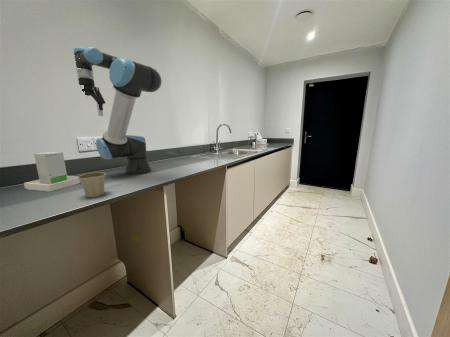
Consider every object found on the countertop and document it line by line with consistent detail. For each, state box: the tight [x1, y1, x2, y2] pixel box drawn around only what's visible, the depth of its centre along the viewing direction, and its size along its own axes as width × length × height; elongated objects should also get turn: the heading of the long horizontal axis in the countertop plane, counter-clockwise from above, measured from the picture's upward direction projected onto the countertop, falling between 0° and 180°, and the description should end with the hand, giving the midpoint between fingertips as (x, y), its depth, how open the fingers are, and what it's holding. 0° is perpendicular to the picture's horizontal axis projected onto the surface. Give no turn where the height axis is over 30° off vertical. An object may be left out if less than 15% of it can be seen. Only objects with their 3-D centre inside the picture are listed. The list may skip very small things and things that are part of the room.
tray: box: [23, 175, 82, 193], centre depth 87 cm, size 15×15×3 cm
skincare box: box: [33, 151, 68, 185], centre depth 85 cm, size 8×7×16 cm
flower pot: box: [76, 171, 107, 198], centre depth 74 cm, size 9×9×9 cm
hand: (91, 116), depth 110 cm, fingers open, 13 cm apart
